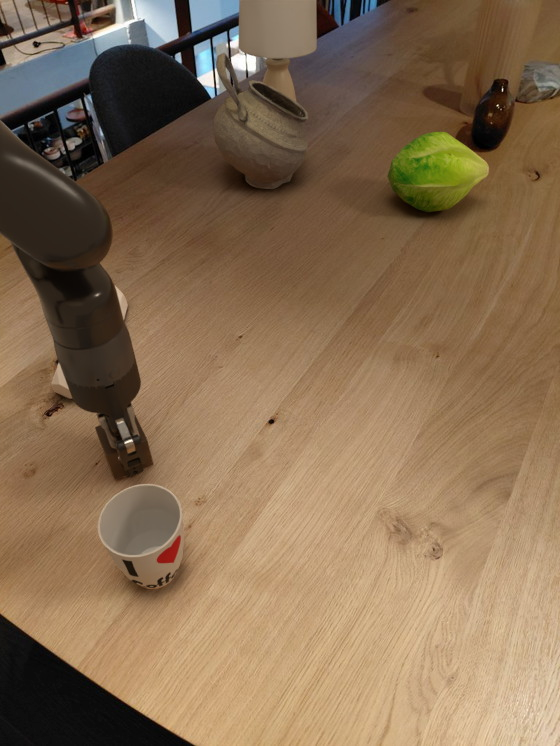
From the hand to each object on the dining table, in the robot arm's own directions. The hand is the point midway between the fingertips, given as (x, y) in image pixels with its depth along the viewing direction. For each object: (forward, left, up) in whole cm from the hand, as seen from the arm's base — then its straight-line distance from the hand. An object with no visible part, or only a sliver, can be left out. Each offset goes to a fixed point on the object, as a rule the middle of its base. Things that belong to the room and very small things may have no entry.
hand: (127, 456), depth 72 cm
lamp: (+67, +85, -1) cm, 109 cm away
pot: (+51, +62, -1) cm, 81 cm away
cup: (-2, -15, -1) cm, 15 cm away
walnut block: (0, 0, 0) cm, 0 cm away
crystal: (+2, +23, -1) cm, 24 cm away
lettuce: (+77, +34, -1) cm, 84 cm away
